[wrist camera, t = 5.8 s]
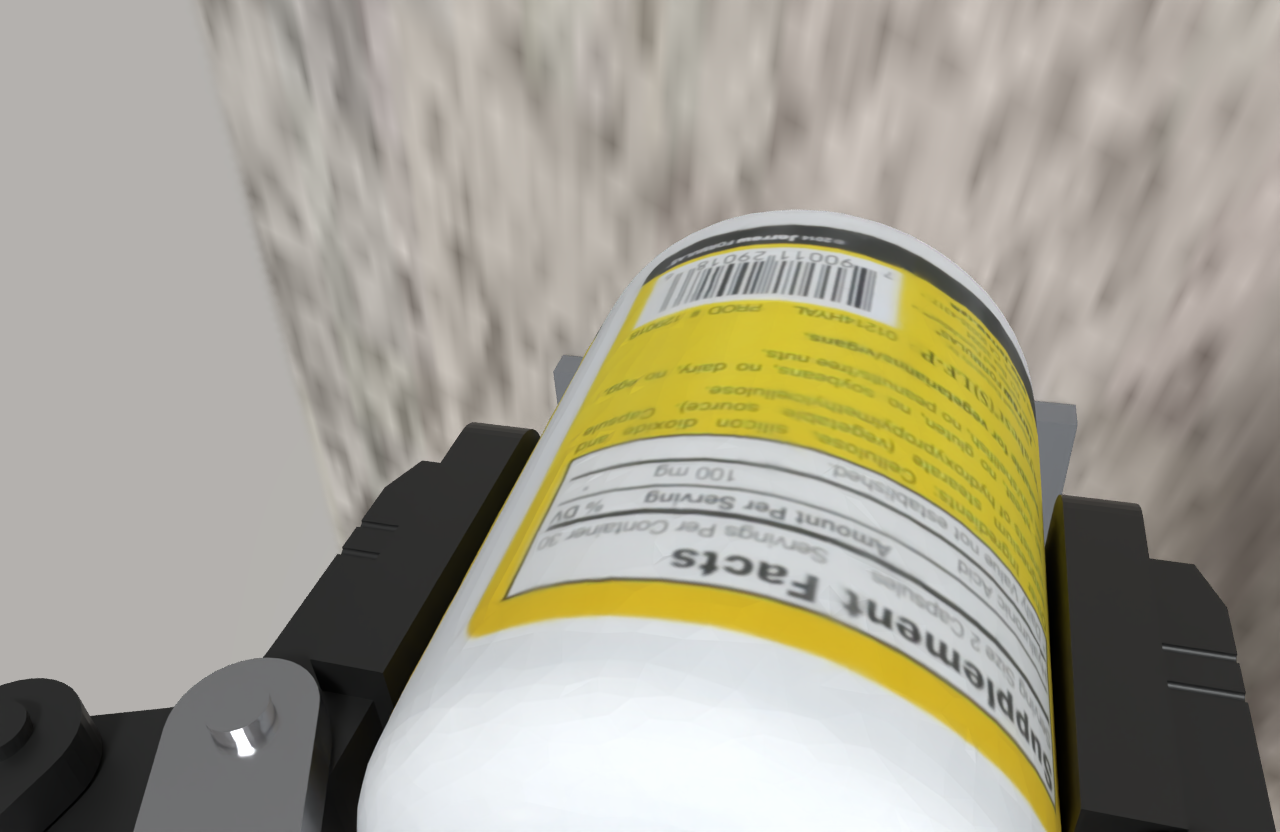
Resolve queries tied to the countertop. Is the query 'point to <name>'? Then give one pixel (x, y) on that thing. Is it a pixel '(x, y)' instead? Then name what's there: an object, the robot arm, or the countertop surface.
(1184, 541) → the countertop surface
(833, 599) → the supplement bottle
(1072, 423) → the slate board
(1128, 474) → the countertop surface
